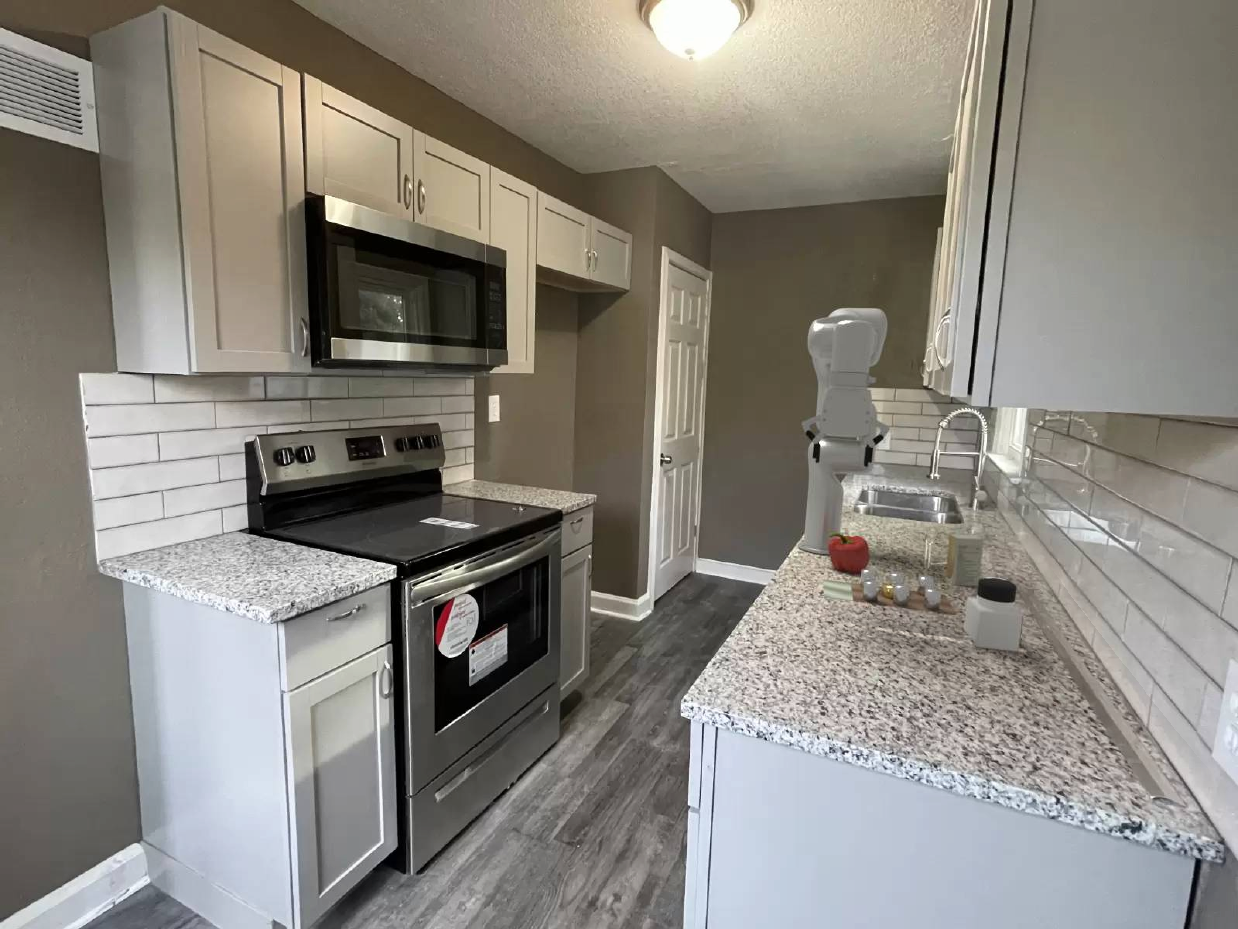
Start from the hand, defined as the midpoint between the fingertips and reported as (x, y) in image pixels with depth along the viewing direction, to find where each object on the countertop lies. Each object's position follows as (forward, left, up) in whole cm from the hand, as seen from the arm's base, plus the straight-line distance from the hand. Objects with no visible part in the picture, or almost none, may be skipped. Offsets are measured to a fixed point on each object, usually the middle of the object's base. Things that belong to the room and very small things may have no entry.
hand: (841, 464), depth 131 cm
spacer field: (-6, +14, -29) cm, 33 cm away
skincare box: (-25, +30, -30) cm, 49 cm away
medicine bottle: (+11, +28, -30) cm, 43 cm away
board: (-6, +11, -30) cm, 33 cm away
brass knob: (-6, +13, -29) cm, 33 cm away
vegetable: (-25, +4, -30) cm, 39 cm away
